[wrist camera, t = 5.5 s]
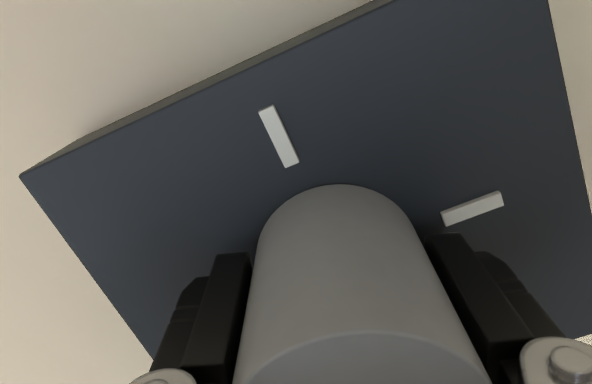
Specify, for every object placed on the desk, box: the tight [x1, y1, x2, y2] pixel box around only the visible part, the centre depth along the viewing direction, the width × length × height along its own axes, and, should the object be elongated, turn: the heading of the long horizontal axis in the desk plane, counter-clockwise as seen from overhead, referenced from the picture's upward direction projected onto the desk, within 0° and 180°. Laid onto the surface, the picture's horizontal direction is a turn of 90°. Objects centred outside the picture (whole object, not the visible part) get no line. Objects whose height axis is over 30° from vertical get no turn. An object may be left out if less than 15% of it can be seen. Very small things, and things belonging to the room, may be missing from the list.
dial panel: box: [19, 0, 592, 360], centre depth 12 cm, size 12×10×3 cm
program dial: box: [232, 184, 492, 384], centre depth 8 cm, size 4×4×5 cm
